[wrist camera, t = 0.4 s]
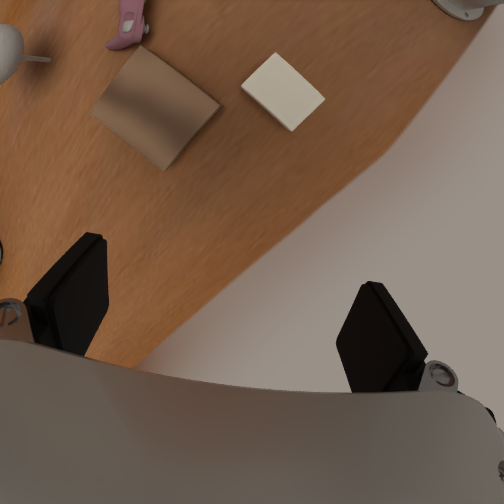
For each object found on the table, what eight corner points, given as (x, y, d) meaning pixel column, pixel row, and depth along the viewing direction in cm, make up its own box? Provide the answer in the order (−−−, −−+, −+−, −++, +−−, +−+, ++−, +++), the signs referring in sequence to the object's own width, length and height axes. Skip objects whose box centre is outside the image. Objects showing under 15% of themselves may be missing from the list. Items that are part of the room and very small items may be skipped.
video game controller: (140, 51, 29) (150, 40, 24) (104, 53, 27) (106, 41, 22) (149, -15, 25) (162, -36, 19) (114, -15, 23) (120, -37, 17)
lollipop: (26, 85, 28) (-52, 93, 14) (37, 37, 25) (-38, 27, 11) (64, 85, 29) (-15, 89, 15) (76, 34, 26) (2, 15, 12)
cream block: (271, 58, 29) (275, 52, 25) (315, 99, 32) (325, 99, 28) (241, 88, 31) (240, 85, 27) (286, 128, 33) (292, 131, 29)
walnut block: (153, 52, 28) (140, 45, 24) (223, 105, 32) (220, 105, 27) (107, 111, 31) (89, 113, 27) (173, 163, 35) (163, 172, 30)
